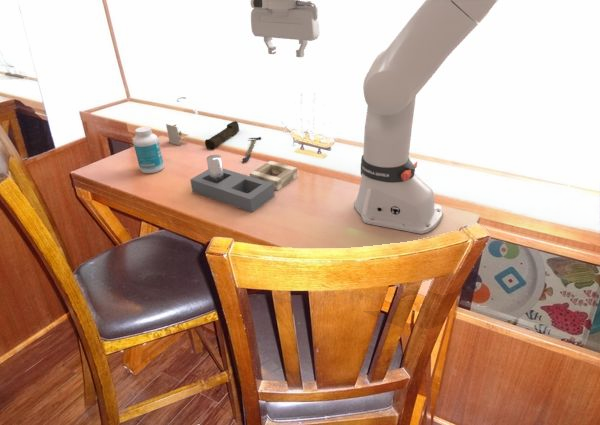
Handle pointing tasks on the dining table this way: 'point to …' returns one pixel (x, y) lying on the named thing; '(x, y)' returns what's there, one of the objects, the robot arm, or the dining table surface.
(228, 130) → the dark brown bar
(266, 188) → the block
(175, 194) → the dining table surface
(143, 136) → the pill bottle
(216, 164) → the metal peg
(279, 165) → the socket block
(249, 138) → the tomahawk
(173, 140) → the architectural model
